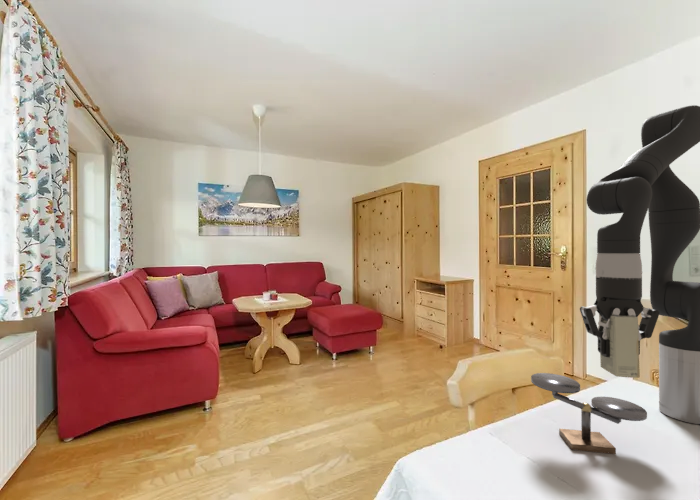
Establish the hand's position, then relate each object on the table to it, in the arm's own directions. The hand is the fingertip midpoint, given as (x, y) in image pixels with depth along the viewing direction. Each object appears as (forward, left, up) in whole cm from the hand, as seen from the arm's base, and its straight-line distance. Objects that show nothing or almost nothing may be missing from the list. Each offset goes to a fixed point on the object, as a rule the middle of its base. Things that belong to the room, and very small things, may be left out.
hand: (618, 356), depth 69 cm
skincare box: (0, 0, -4) cm, 4 cm away
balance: (+6, 0, -19) cm, 20 cm away
